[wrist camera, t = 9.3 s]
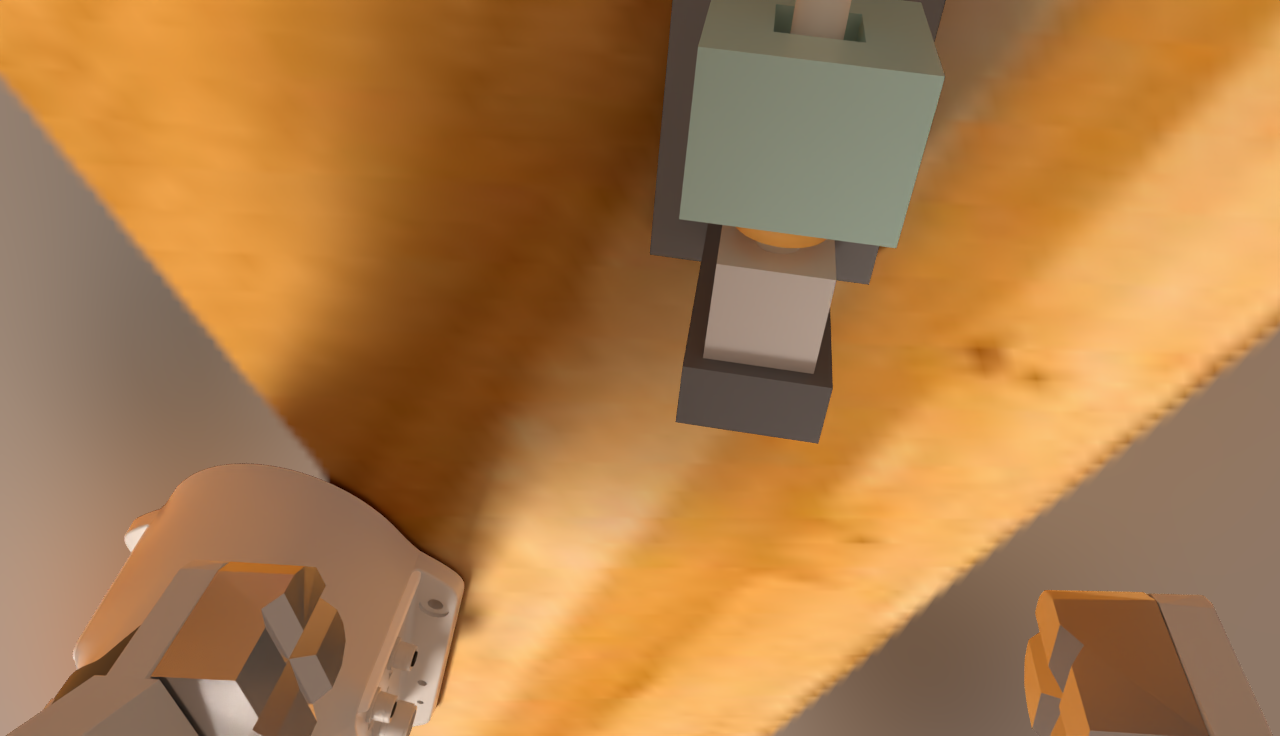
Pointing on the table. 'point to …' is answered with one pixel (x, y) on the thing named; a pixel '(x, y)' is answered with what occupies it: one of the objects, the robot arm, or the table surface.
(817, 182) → the sleeve
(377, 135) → the table surface
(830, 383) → the sliding block rail stand
